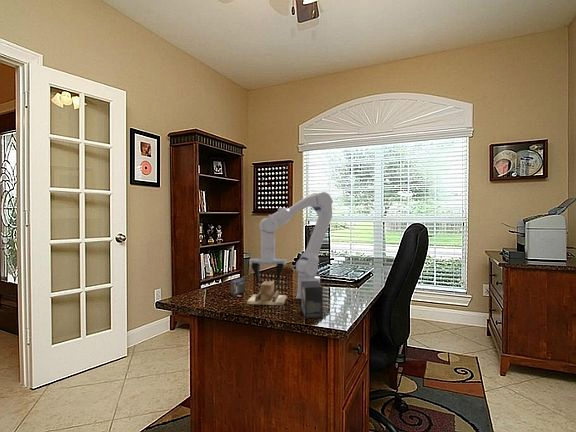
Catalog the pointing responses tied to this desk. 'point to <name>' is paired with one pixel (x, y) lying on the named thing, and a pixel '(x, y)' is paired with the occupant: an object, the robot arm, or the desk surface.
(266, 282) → the rail end block
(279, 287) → the desk surface
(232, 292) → the mini dv tape
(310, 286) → the small box
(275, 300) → the post slot base
